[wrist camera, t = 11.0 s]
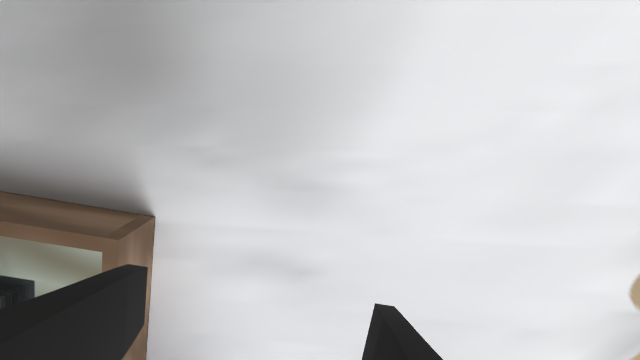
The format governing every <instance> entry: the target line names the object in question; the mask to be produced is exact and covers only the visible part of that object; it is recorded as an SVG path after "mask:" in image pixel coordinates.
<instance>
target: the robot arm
mask: <svg viewBox="0 0 640 360" xmlns="http://www.w3.org/2000/svg"><path fill="white" fill-rule="evenodd" d="M147 274H148V267H144V266H138V265H132V264H126V265H123V266H119V267H116V268H113V269H111V270H108V271H105V272H102V273H100V274H97V275H94V276H92V277H89V278H86V279H84V280H81V281H78V282H76V283H73V284H70V285H68V286H65V287H62V288H60V289H57V290H54V291H52V292H49V293H46V294H43V295H40V296H37V297H34V298H32V299H29V300H26V301H23V302H20V303H17V304H14V305H11V306H8V307H5V308H3V309H0V360H122V358H123V357H124V356H125V354H126V353H127V351H128V350H129V348H130V347H131V345H132V344H133V342H134V340H135V339H136V337H137V336H138V334H139V332H140V331H141V329H142V327H143V326H144V322H145V306H146V290H147ZM362 360H443V359H442V358H441V357H440V356H439V355H438V354H437V353H436V352H435V351H434V350H433V349H432V348H431V346H430V345H429V344H428V343H427V342H426V341H425V340H424V339H423V338H422V337H421V336H420V334H419V333H418V332H417V331H416V330H415V329H414V328H413V327H412V325H411V324H410V323H409V322H408V321H407V320H406V319H405V318H404V317H403V315H402V314H401V313H400V312H399V311H398V310H397V309H396V308H395V307H394V306H388V305H381V304H375V306H374V310H373V315H372V319H371V323H370V327H369V331H368V336H367V340H366V344H365V348H364V352H363V357H362Z"/></svg>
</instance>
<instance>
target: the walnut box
mask: <svg viewBox="0 0 640 360" xmlns="http://www.w3.org/2000/svg"><path fill="white" fill-rule="evenodd" d="M154 229H155V217H152V216H146V215H140V214H134V213H128V212H122V211H115V210H109V209H103V208H97V207H91V206H85V205H79V204H73V203H67V202H61V201H55V200H49V199H43V198H37V197H31V196H25V195H19V194H13V193H7V192H1V191H0V275H2V276H8V277H15V278H21V279H27V280H34V281H35V297H37V296H40V295H43V294H46V293H49V292H52V291H54V290H57V289H60V288H62V287H65V286H68V285H70V284H73V283H76V282H78V281H81V280H84V279H86V278H89V277H92V276H94V275H97V274H100V273H102V272H105V271H108V270H111V269H113V268H116V267H119V266H123V265H126V264H132V265H138V266H144V267H148V274H147V290H146V306H145V322H144V326H143V327H142V329H141V331H140V332H139V334H138V336H137V337H136V339H135V340H134V342H133V344H132V345H131V347H130V348H129V350H128V351H127V353H126V354H125V356H124V357H123V358H122V360H146V352H147V336H148V321H149V305H150V290H151V275H152V259H153V244H154Z"/></svg>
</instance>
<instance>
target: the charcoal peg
mask: <svg viewBox="0 0 640 360" xmlns="http://www.w3.org/2000/svg"><path fill="white" fill-rule="evenodd" d="M34 297H35V281H34V280H27V279H21V278H15V277H8V276H2V275H0V309H3V308H5V307H8V306H11V305H14V304H17V303H20V302H23V301H26V300H29V299H32V298H34Z"/></svg>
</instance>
